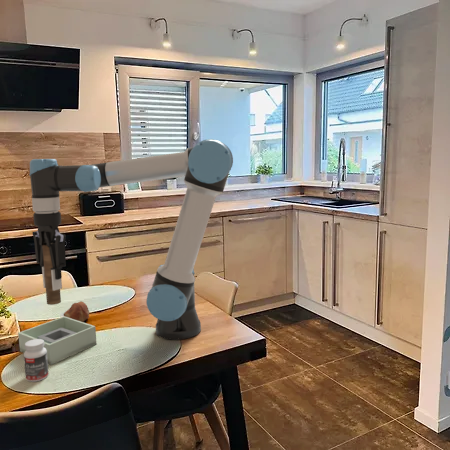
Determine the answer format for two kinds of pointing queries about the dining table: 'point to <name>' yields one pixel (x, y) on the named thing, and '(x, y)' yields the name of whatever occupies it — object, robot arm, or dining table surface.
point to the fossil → (78, 312)
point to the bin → (60, 337)
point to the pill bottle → (35, 360)
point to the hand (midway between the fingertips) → (52, 287)
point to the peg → (49, 278)
